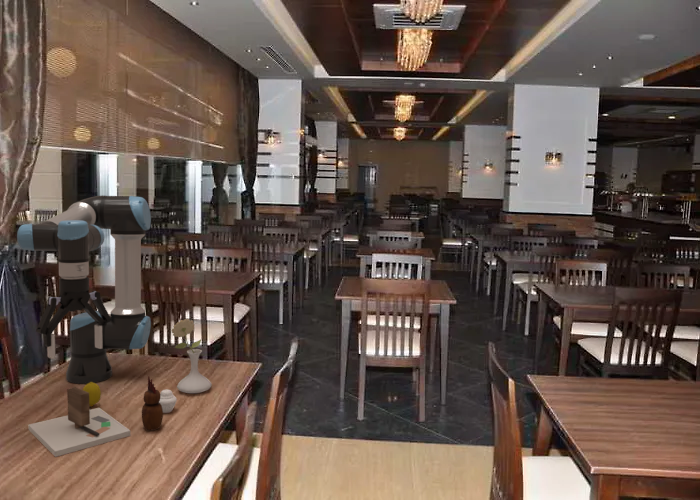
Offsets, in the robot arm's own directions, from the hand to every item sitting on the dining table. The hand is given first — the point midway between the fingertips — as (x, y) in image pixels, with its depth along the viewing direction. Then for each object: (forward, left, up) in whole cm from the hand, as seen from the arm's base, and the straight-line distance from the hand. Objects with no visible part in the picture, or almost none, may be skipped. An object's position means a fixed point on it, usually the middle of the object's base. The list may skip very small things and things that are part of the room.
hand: (75, 352), depth 170 cm
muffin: (-26, +1, -24) cm, 35 cm away
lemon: (-10, -17, -23) cm, 31 cm away
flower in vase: (-41, -10, -23) cm, 48 cm away
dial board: (0, 0, -23) cm, 23 cm away
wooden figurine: (-17, +10, -23) cm, 31 cm away
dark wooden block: (-1, +3, -21) cm, 22 cm away
